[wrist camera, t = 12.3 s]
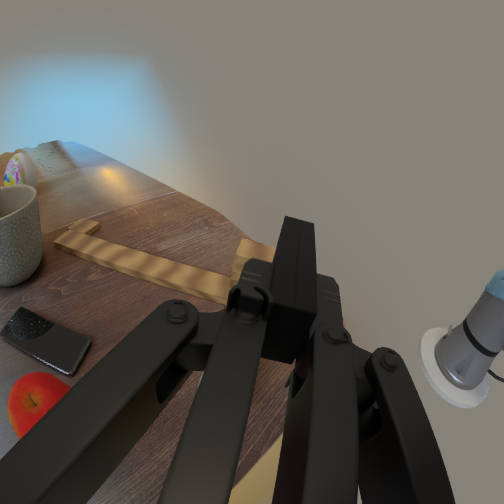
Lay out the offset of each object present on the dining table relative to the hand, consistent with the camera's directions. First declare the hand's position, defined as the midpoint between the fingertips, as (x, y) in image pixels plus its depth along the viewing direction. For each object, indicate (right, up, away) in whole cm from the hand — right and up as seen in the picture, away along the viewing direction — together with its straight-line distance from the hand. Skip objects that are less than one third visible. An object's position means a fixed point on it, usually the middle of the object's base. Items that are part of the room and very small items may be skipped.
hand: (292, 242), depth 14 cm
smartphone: (-34, -14, +17) cm, 40 cm away
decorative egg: (-76, +17, +51) cm, 93 cm away
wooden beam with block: (-22, -3, +39) cm, 45 cm away
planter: (-50, -4, +26) cm, 57 cm away
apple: (-24, -23, +7) cm, 34 cm away
